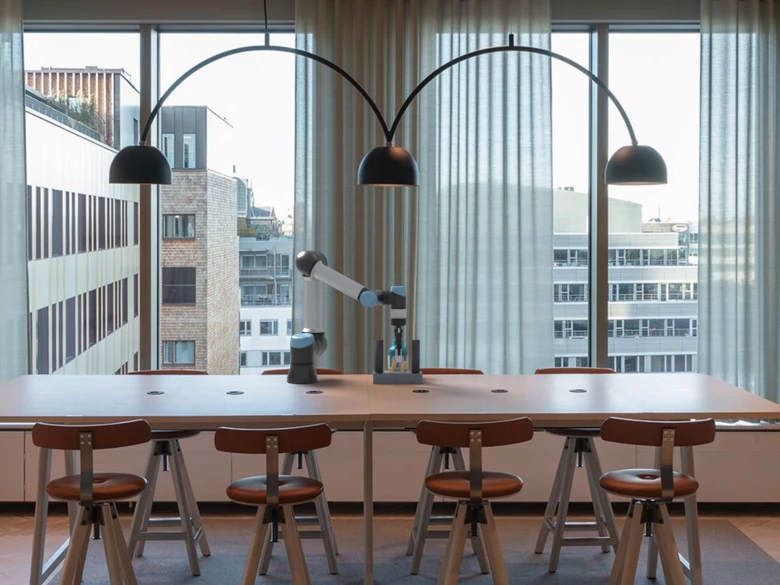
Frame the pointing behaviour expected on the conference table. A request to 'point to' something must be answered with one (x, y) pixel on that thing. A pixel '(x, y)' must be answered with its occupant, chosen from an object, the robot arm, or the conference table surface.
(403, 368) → the paddle
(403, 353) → the vase
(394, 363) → the paddle
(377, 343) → the post left
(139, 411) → the conference table surface
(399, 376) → the gray rectangular base
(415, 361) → the post right
